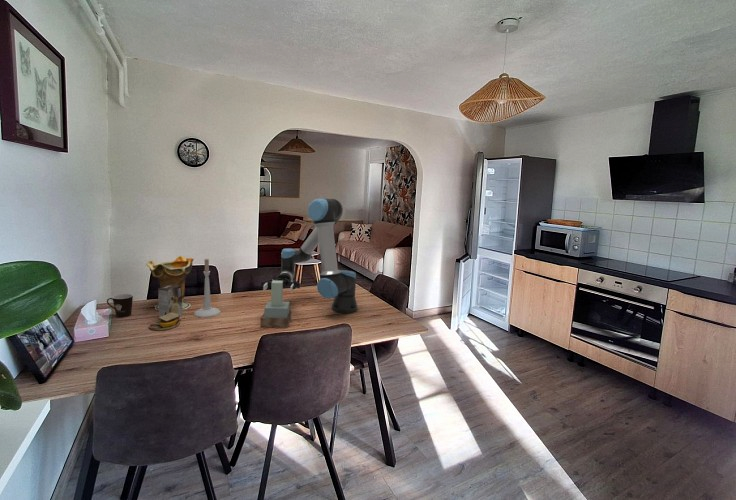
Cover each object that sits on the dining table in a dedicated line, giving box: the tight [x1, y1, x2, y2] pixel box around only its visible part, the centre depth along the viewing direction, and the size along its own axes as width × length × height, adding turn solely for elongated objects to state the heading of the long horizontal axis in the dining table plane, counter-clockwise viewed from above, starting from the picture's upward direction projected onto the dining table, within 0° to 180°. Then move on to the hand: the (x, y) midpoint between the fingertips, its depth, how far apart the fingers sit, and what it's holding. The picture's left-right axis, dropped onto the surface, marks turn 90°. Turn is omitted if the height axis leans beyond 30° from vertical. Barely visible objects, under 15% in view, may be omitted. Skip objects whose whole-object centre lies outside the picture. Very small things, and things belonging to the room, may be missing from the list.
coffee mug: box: [106, 293, 134, 319], centre depth 183 cm, size 12×9×10 cm
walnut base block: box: [259, 309, 292, 329], centre depth 184 cm, size 13×13×5 cm
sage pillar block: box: [270, 279, 284, 306], centre depth 182 cm, size 5×5×12 cm
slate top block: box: [263, 300, 291, 318], centre depth 183 cm, size 11×11×5 cm
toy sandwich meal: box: [148, 313, 181, 331], centre depth 172 cm, size 12×14×5 cm
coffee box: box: [157, 285, 184, 318], centre depth 182 cm, size 9×6×16 cm
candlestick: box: [193, 258, 221, 318], centre depth 190 cm, size 13×13×30 cm
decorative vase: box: [146, 255, 194, 311], centre depth 197 cm, size 21×23×28 cm
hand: (277, 289), depth 183 cm, fingers open, 13 cm apart
